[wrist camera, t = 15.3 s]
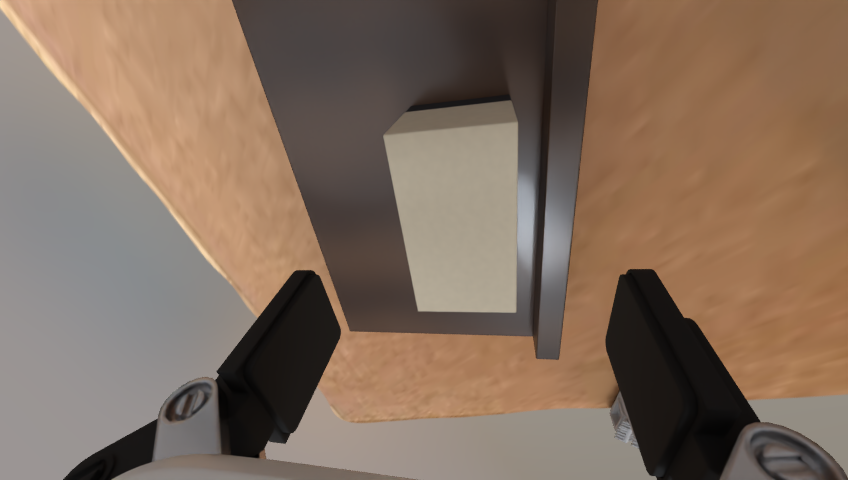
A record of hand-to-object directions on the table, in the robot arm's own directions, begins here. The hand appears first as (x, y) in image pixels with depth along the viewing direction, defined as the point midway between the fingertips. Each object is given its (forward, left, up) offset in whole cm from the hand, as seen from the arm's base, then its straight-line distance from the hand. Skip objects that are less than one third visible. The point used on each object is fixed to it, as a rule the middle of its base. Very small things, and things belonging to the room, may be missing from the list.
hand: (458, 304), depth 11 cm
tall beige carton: (+1, 0, -10) cm, 10 cm away
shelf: (0, -3, -14) cm, 14 cm away
